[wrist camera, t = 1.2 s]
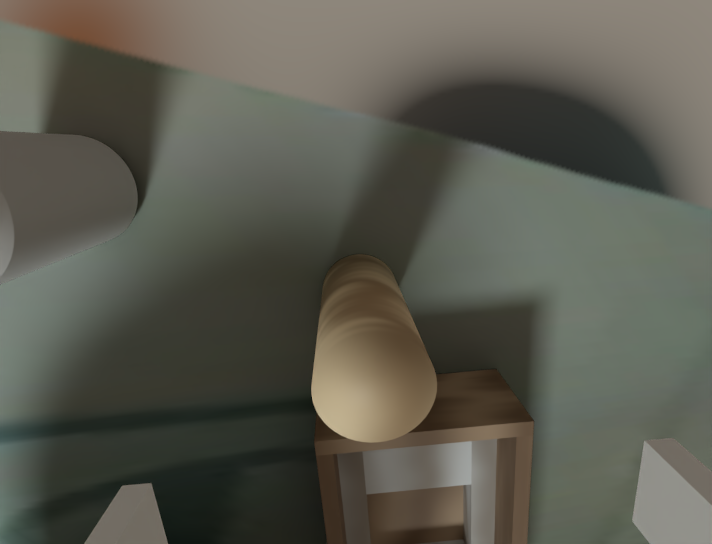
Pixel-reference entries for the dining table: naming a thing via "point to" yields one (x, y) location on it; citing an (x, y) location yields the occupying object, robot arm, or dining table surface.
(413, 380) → the peg
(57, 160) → the beverage can
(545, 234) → the dining table surface
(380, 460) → the crate
